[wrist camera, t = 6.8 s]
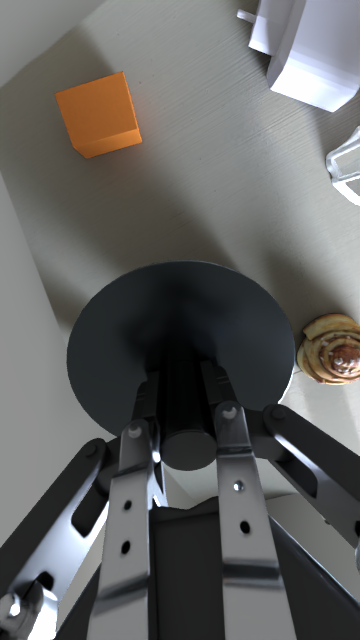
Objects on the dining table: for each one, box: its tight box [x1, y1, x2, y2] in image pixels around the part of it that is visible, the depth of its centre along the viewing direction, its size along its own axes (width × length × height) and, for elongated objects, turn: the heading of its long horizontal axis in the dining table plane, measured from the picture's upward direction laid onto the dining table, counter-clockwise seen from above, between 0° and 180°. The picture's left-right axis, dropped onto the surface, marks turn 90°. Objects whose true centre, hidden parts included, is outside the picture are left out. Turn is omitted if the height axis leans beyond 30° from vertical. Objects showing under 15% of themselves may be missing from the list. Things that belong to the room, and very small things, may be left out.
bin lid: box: [67, 260, 295, 471], centre depth 12 cm, size 15×15×6 cm
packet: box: [54, 71, 142, 159], centre depth 25 cm, size 8×5×4 cm, turn 103°
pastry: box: [297, 314, 360, 385], centre depth 37 cm, size 13×15×8 cm
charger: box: [236, 0, 360, 112], centre depth 22 cm, size 5×9×15 cm
